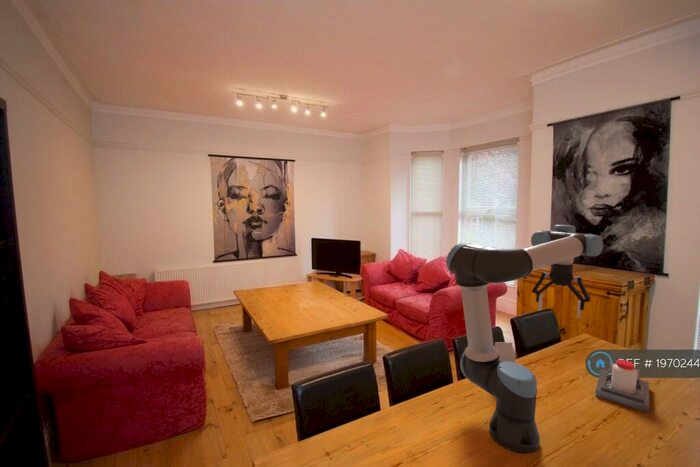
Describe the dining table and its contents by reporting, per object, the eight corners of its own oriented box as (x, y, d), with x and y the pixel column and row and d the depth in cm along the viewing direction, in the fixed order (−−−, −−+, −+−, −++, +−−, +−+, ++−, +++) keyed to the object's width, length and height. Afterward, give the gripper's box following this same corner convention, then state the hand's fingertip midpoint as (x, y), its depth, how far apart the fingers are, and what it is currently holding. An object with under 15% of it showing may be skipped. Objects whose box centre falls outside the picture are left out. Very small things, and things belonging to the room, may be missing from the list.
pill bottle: (606, 385, 135) (608, 360, 134) (617, 381, 138) (619, 356, 137) (629, 396, 128) (631, 369, 127) (639, 391, 131) (642, 365, 130)
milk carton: (513, 389, 137) (516, 346, 135) (496, 389, 137) (498, 346, 135) (506, 380, 144) (508, 339, 142) (489, 380, 144) (491, 338, 142)
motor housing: (648, 413, 122) (651, 387, 121) (595, 396, 133) (597, 372, 132) (647, 388, 138) (650, 365, 137) (600, 375, 149) (602, 354, 148)
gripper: (601, 265, 127) (597, 318, 129) (530, 258, 144) (527, 304, 146) (599, 268, 122) (595, 323, 124) (525, 260, 138) (523, 308, 141)
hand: (558, 313), depth 135 cm, fingers open, 13 cm apart
